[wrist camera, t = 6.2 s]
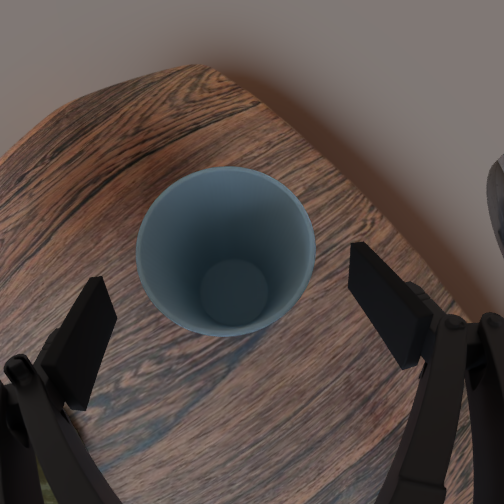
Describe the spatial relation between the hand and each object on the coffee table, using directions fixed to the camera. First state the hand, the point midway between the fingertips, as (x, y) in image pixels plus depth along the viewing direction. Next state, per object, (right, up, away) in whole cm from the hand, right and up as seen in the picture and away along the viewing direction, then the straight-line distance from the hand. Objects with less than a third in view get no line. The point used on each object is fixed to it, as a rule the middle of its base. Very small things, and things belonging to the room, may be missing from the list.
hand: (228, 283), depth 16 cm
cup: (0, -2, +7) cm, 7 cm away
